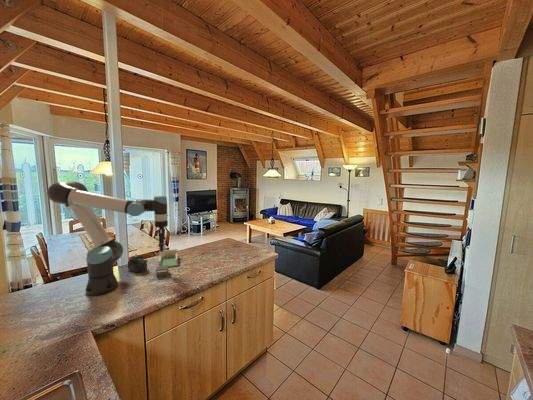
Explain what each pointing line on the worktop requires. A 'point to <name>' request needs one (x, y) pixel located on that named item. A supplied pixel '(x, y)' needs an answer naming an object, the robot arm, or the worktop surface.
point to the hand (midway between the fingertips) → (162, 252)
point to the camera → (137, 264)
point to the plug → (162, 271)
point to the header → (169, 258)
